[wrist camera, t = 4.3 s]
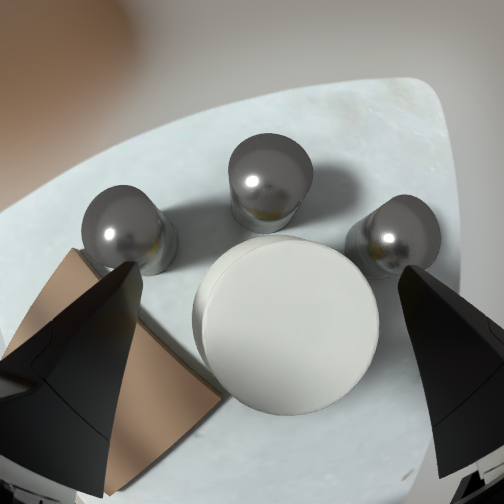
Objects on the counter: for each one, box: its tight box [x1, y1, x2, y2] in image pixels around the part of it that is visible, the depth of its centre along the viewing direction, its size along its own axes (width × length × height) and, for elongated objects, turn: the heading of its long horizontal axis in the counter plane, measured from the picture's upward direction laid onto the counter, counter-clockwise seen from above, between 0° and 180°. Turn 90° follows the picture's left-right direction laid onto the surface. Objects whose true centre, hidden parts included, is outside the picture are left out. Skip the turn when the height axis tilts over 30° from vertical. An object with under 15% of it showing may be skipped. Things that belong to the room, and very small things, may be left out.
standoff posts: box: [81, 133, 441, 279], centre depth 14 cm, size 6×17×4 cm, turn 89°
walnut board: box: [1, 248, 222, 496], centre depth 14 cm, size 12×12×1 cm
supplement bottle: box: [192, 235, 379, 416], centre depth 11 cm, size 5×5×10 cm
